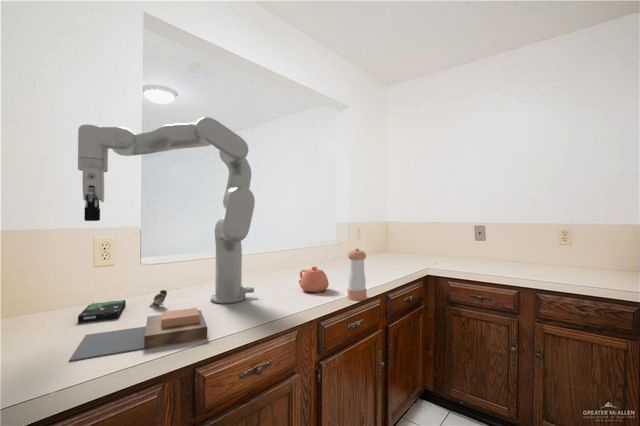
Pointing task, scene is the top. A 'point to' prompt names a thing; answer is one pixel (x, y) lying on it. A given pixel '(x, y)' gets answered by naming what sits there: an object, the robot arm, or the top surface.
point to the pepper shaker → (357, 276)
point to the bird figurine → (159, 299)
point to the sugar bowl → (313, 280)
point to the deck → (173, 332)
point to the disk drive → (102, 311)
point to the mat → (109, 343)
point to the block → (179, 317)
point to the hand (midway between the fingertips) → (92, 220)
